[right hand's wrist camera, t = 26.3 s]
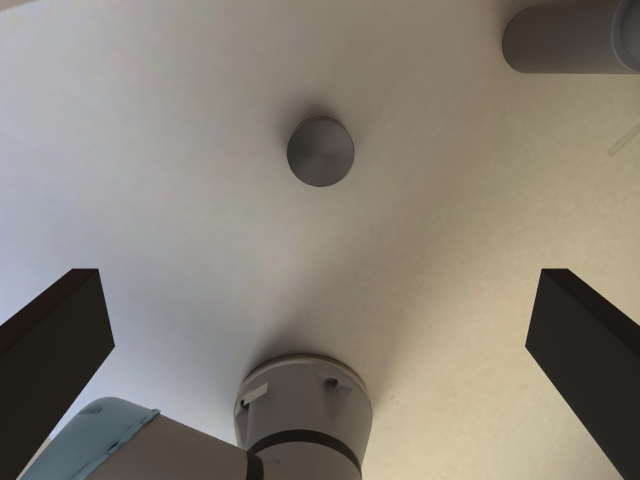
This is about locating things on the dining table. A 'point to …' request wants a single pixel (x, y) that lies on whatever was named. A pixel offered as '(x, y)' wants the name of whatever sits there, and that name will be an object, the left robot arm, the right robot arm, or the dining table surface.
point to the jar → (575, 37)
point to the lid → (320, 152)
